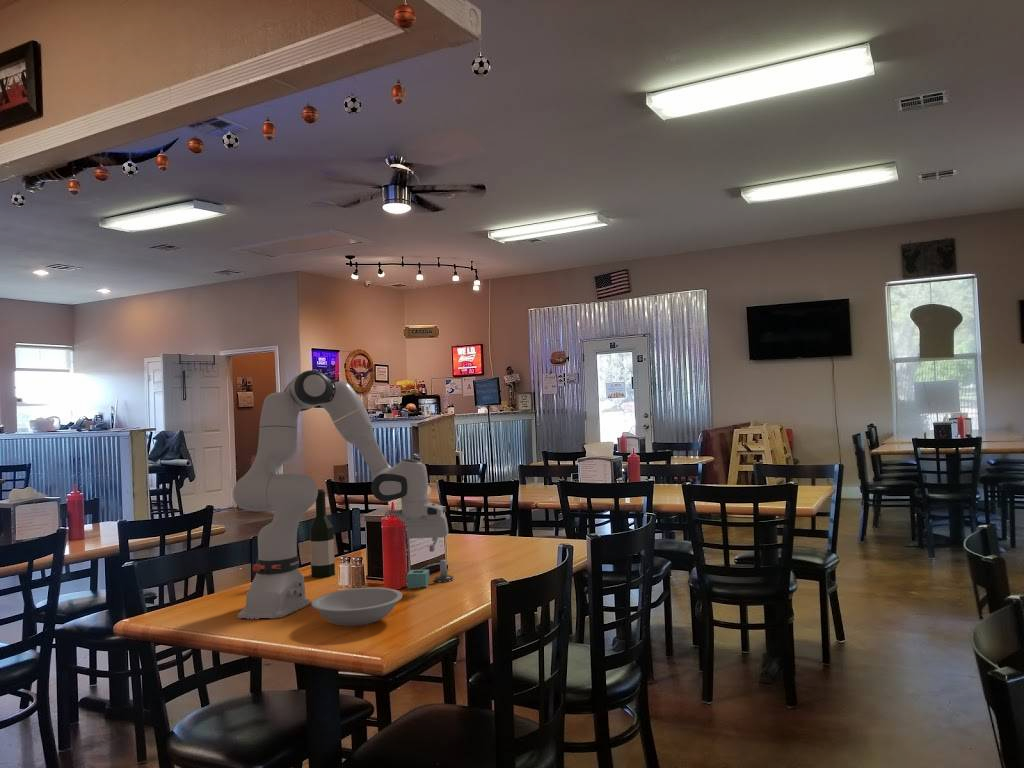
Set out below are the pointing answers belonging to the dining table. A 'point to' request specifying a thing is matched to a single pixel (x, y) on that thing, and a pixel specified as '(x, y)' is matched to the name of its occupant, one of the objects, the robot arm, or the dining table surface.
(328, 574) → the wine bottle
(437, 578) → the post stand
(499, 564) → the dining table surface
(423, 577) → the teal block
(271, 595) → the robot arm
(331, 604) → the soup bowl
